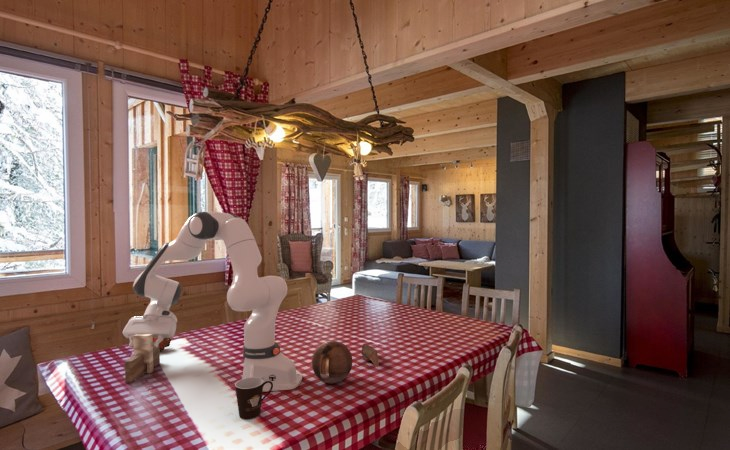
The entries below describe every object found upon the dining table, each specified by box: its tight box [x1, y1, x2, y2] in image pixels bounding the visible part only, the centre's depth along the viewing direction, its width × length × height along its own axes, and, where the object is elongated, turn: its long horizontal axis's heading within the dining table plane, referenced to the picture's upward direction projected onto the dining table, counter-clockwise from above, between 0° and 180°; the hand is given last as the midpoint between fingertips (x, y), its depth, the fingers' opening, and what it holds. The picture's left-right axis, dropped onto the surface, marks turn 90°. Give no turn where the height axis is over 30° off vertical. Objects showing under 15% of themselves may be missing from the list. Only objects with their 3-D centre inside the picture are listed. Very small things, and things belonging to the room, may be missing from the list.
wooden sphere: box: [311, 340, 353, 384], centre depth 151 cm, size 15×15×15 cm
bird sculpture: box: [361, 343, 380, 368], centre depth 170 cm, size 7×25×5 cm, turn 15°
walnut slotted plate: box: [124, 344, 161, 383], centre depth 162 cm, size 2×20×8 cm, turn 179°
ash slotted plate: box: [133, 334, 154, 374], centre depth 162 cm, size 6×2×15 cm, turn 89°
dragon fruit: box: [153, 338, 172, 352], centre depth 188 cm, size 8×8×12 cm
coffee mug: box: [234, 377, 273, 420], centre depth 127 cm, size 12×9×10 cm
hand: (142, 346), depth 162 cm, fingers open, 8 cm apart
